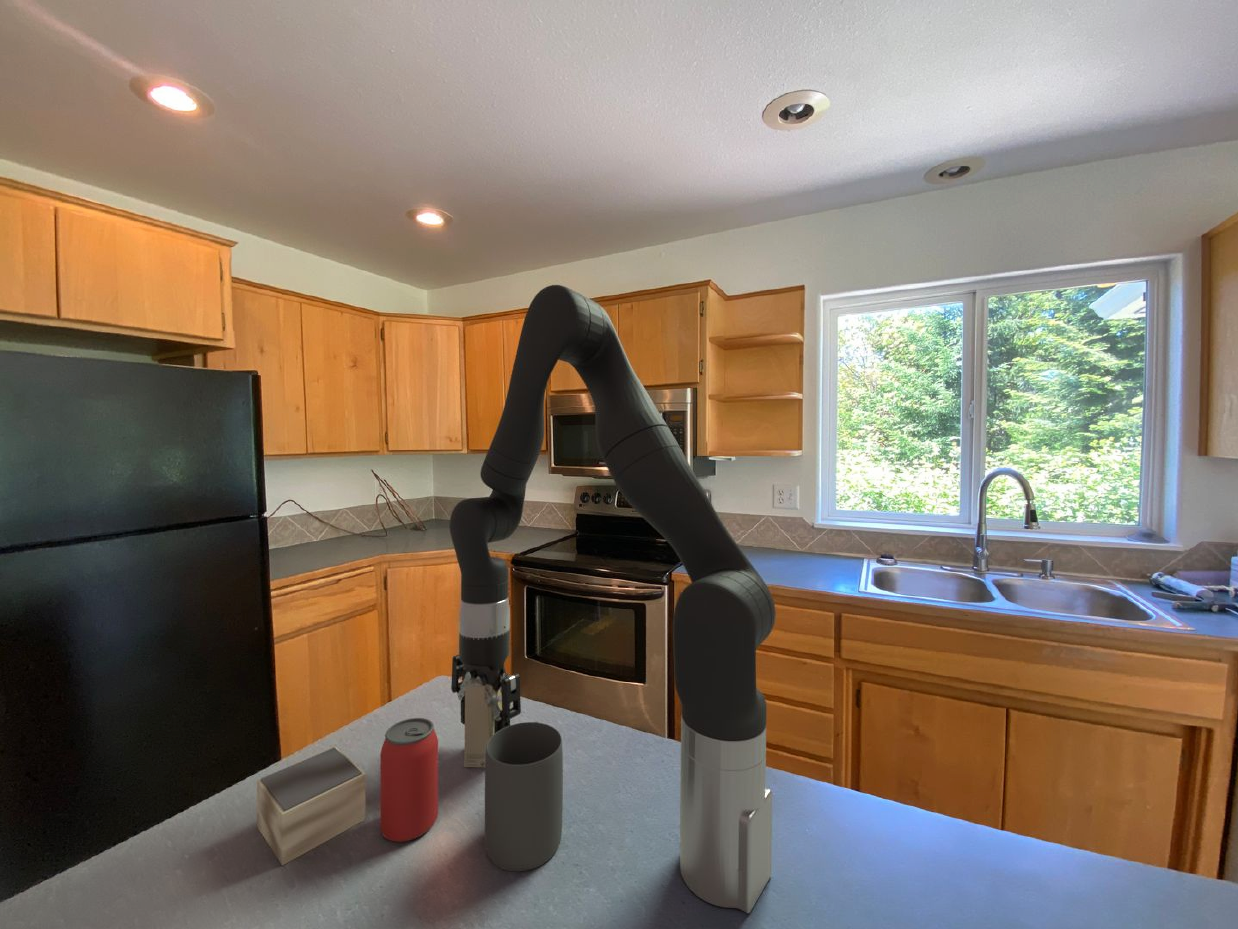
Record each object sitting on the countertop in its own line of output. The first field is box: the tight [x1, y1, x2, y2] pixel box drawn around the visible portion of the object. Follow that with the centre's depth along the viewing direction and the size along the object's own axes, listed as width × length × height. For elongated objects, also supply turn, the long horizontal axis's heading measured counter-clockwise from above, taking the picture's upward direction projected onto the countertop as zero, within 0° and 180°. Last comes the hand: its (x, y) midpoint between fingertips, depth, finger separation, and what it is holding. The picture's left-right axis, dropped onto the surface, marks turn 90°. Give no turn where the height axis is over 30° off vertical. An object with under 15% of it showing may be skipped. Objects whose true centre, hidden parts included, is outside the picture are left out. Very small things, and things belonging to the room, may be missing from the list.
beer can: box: [379, 717, 439, 843], centre depth 61 cm, size 7×7×12 cm
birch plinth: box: [256, 746, 366, 866], centre depth 61 cm, size 9×9×6 cm
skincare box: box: [463, 678, 502, 768], centre depth 75 cm, size 6×4×12 cm
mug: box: [484, 721, 564, 872], centre depth 60 cm, size 14×9×12 cm
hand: (484, 731), depth 75 cm, fingers open, 8 cm apart
